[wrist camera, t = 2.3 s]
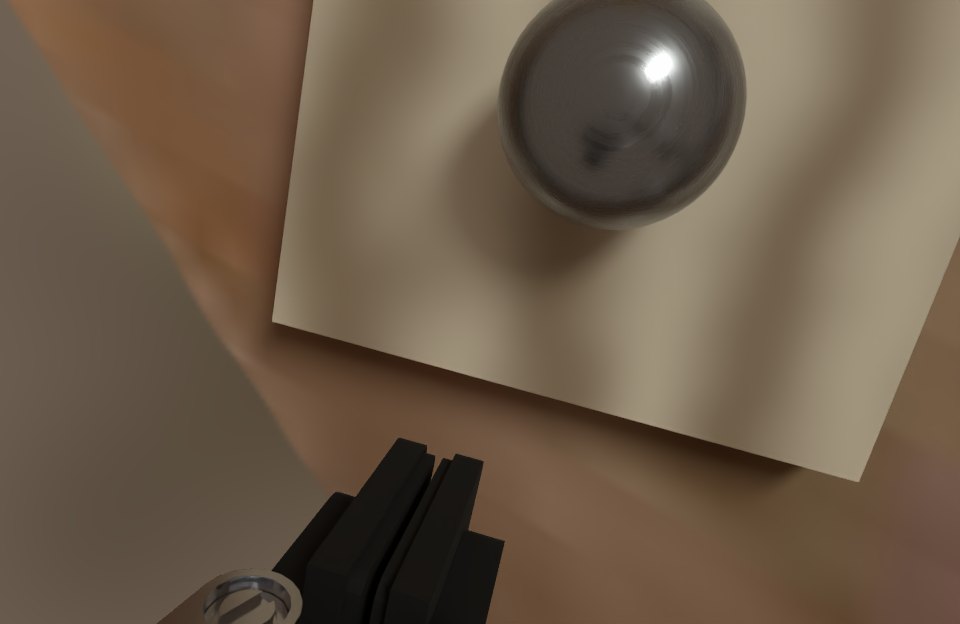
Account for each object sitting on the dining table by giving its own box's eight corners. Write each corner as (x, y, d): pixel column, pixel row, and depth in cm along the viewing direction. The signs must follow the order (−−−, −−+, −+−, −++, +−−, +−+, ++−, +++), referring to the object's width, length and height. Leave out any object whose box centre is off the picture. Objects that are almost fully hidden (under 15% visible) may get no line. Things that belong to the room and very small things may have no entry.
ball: (750, 31, 17) (821, -42, 11) (687, 241, 19) (723, 271, 13) (540, -7, 18) (509, -92, 12) (496, 197, 20) (449, 207, 14)
